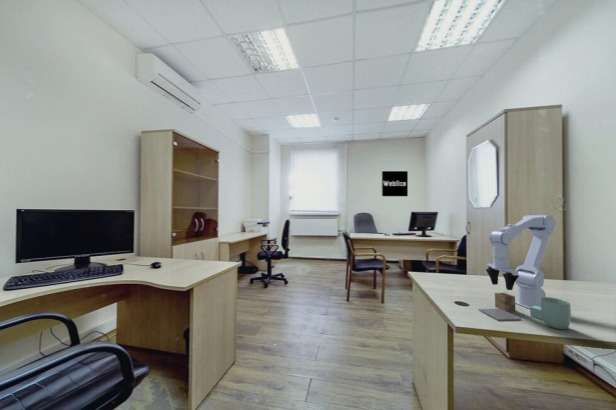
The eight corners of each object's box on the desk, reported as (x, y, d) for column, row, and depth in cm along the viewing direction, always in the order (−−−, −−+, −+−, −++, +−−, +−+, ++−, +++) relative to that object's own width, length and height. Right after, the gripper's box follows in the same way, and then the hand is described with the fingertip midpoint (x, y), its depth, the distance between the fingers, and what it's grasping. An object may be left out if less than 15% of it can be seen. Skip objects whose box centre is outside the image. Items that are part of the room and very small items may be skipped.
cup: (536, 322, 93) (535, 297, 93) (553, 321, 93) (552, 296, 94) (558, 332, 85) (557, 304, 85) (577, 331, 86) (576, 304, 86)
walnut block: (505, 306, 109) (504, 292, 109) (515, 311, 104) (514, 296, 104) (495, 306, 108) (494, 292, 109) (504, 311, 103) (504, 296, 104)
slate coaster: (499, 309, 105) (499, 308, 105) (521, 320, 95) (521, 318, 95) (478, 310, 104) (478, 309, 104) (497, 320, 94) (497, 319, 94)
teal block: (535, 314, 100) (535, 305, 100) (547, 318, 96) (547, 308, 96) (530, 316, 98) (530, 306, 98) (542, 320, 95) (542, 310, 95)
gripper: (480, 254, 114) (481, 282, 114) (506, 260, 99) (507, 292, 99) (493, 254, 114) (494, 282, 114) (522, 260, 100) (523, 292, 99)
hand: (501, 287), depth 106 cm, fingers open, 7 cm apart
